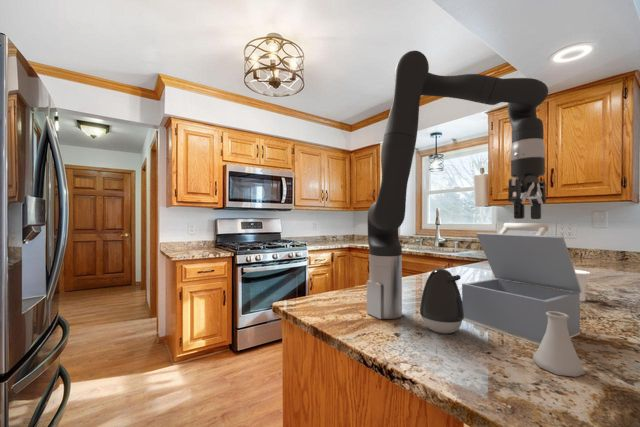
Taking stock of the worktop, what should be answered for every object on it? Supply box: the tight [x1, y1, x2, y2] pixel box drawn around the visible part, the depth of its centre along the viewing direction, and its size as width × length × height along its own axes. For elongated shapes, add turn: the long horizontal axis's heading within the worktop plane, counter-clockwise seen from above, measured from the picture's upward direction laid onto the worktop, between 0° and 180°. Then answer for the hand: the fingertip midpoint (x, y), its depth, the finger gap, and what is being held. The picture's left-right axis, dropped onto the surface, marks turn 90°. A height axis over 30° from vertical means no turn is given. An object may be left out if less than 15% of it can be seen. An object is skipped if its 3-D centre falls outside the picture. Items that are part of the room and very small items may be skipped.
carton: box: [461, 277, 581, 346], centre depth 76 cm, size 16×20×10 cm
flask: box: [532, 311, 586, 377], centre depth 55 cm, size 7×7×10 cm
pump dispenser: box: [419, 268, 464, 335], centre depth 73 cm, size 10×10×15 cm
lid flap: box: [476, 222, 582, 293], centre depth 79 cm, size 16×20×7 cm
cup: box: [565, 269, 591, 302], centre depth 102 cm, size 9×9×10 cm
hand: (527, 218), depth 79 cm, fingers open, 8 cm apart
